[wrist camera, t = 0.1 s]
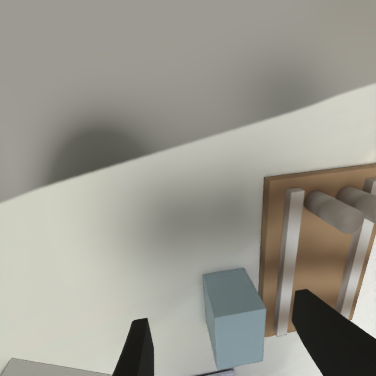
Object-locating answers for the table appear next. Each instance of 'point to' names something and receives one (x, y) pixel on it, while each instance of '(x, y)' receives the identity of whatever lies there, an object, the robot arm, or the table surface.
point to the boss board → (315, 240)
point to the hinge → (43, 369)
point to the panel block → (234, 318)
